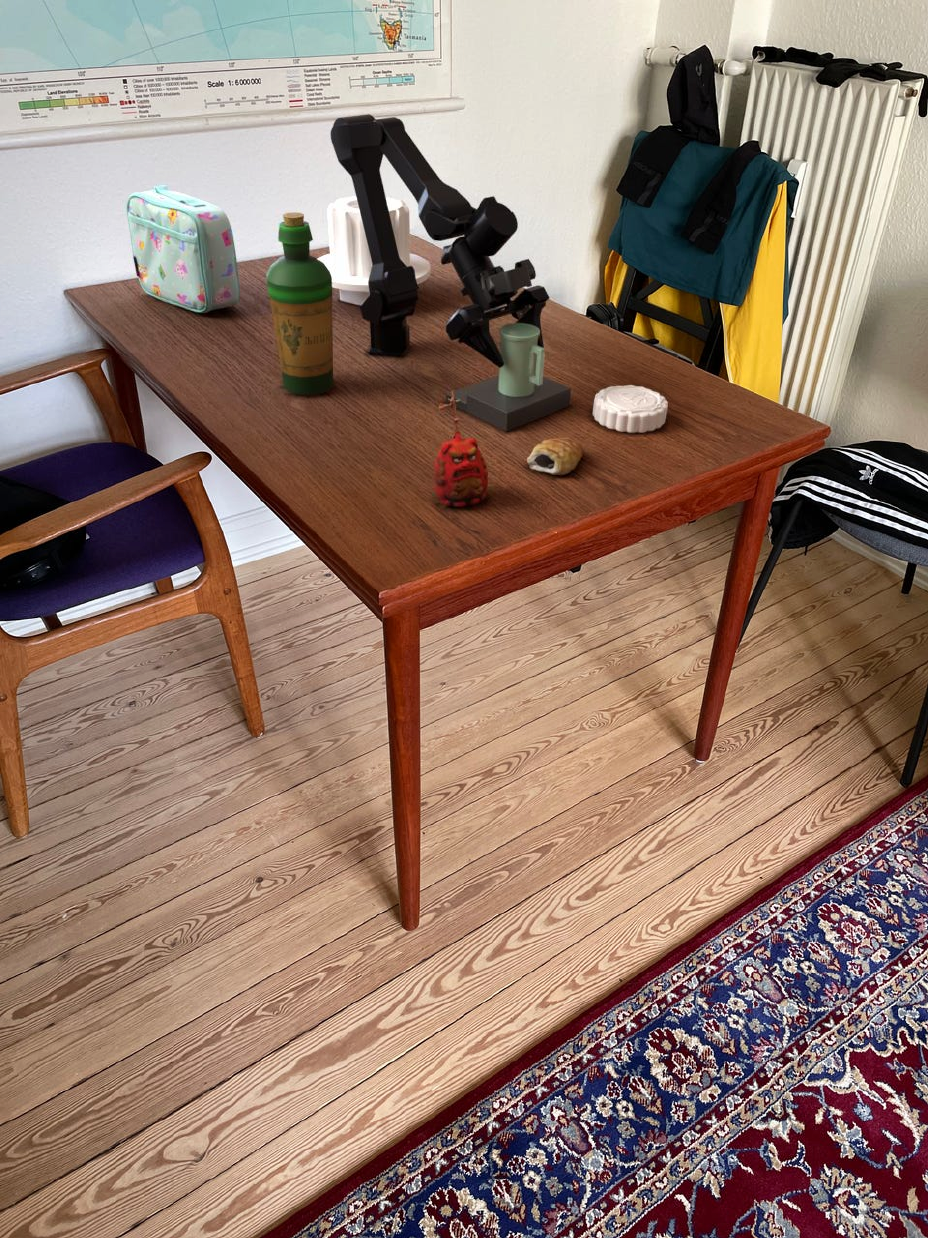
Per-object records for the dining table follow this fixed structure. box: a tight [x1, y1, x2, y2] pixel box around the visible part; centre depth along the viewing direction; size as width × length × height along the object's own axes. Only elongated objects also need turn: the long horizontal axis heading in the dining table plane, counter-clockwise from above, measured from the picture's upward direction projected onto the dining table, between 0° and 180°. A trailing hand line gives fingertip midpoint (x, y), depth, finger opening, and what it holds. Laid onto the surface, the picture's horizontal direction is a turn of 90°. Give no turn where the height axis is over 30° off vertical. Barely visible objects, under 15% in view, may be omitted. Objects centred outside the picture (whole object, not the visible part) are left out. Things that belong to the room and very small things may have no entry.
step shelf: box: [445, 373, 572, 432], centre depth 152 cm, size 14×15×3 cm
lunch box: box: [126, 184, 241, 314], centre depth 183 cm, size 27×10×21 cm, turn 49°
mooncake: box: [592, 384, 669, 434], centre depth 148 cm, size 12×12×4 cm
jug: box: [498, 322, 546, 397], centre depth 146 cm, size 9×6×10 cm
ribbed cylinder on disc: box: [317, 195, 432, 307], centre depth 188 cm, size 25×25×19 cm
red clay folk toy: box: [434, 390, 489, 508], centre depth 123 cm, size 8×7×15 cm
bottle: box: [265, 211, 334, 396], centre depth 148 cm, size 11×11×28 cm
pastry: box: [526, 437, 584, 476], centre depth 135 cm, size 9×7×4 cm
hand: (522, 359), depth 146 cm, fingers open, 9 cm apart
